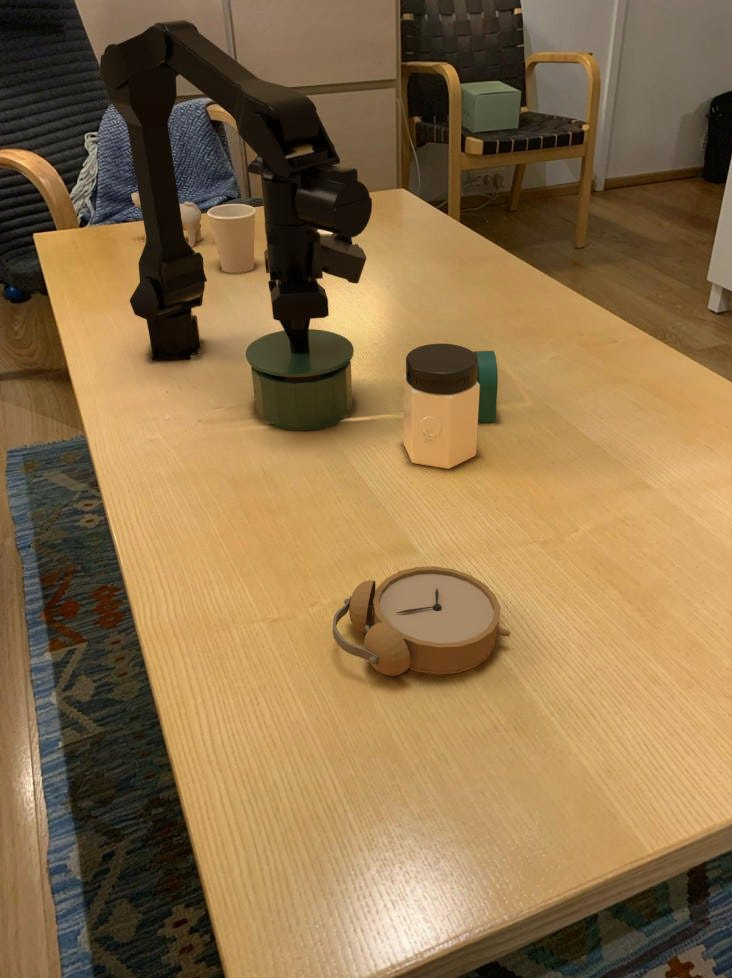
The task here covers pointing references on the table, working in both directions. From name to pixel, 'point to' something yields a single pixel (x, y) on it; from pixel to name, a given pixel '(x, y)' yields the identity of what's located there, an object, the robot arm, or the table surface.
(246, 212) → the dixie cup
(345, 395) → the pot
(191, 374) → the table surface
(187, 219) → the dog figurine
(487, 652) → the alarm clock
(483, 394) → the bracket
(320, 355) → the lid
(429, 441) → the jar
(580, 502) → the table surface
